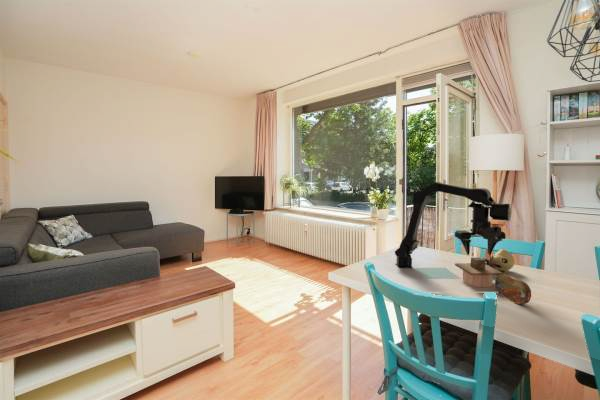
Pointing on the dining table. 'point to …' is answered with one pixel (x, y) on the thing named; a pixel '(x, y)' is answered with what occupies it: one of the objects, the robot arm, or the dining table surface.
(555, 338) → the dining table surface
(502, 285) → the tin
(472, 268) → the walnut lid
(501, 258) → the yellow rounded lump
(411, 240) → the robot arm
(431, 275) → the teal mat
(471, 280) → the terracotta bowl
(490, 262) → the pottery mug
